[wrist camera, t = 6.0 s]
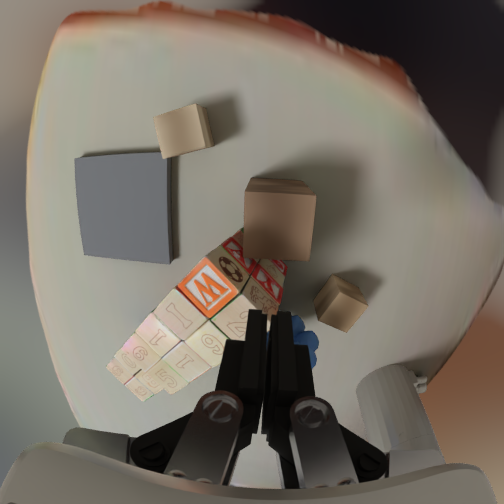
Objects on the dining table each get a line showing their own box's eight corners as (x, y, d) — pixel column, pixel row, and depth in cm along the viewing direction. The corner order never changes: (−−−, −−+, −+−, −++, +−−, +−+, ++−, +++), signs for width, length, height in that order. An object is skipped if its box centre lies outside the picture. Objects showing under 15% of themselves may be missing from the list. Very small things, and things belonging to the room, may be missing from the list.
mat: (171, 151, 25) (167, 152, 24) (173, 259, 30) (169, 264, 29) (80, 157, 26) (74, 158, 24) (89, 251, 30) (84, 255, 29)
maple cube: (206, 108, 23) (195, 103, 20) (214, 146, 25) (205, 147, 21) (168, 119, 24) (153, 117, 20) (177, 156, 25) (162, 158, 22)
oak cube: (358, 287, 30) (368, 306, 26) (339, 312, 32) (346, 332, 28) (332, 273, 30) (340, 291, 26) (313, 300, 31) (318, 320, 27)
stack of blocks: (173, 360, 35) (130, 419, 23) (141, 328, 35) (88, 380, 23) (289, 266, 28) (276, 328, 16) (247, 222, 28) (204, 255, 16)
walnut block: (302, 180, 26) (316, 195, 18) (298, 228, 28) (309, 261, 20) (251, 177, 26) (244, 191, 19) (249, 226, 28) (243, 257, 20)
